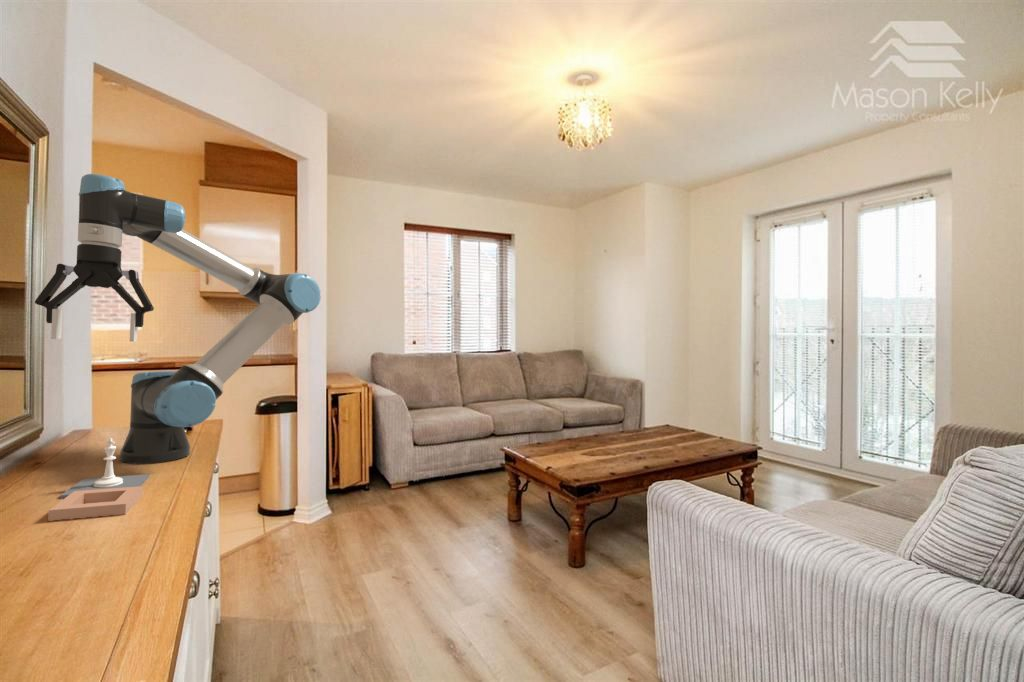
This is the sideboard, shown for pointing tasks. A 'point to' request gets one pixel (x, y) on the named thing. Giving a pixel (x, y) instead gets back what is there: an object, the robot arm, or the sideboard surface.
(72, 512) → the pocket holder
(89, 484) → the mat
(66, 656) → the sideboard surface
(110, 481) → the chess piece
